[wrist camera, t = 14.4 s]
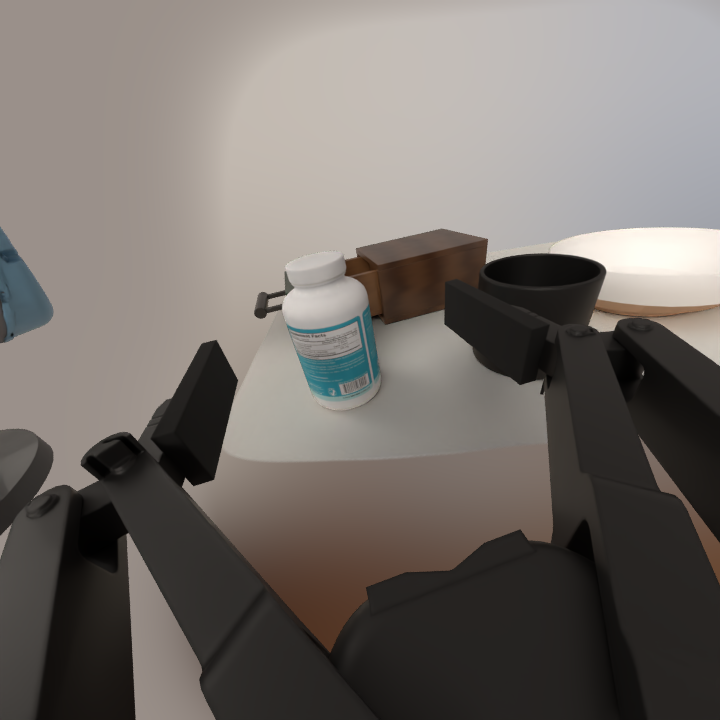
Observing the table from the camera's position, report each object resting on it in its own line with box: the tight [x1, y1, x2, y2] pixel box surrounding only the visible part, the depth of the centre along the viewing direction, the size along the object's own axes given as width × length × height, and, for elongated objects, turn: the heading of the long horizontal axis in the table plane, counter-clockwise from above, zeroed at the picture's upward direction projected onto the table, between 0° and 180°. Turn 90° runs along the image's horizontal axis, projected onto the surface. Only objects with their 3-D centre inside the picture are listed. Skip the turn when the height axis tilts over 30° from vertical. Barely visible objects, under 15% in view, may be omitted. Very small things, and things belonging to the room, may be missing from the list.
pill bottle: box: [282, 251, 381, 410], centre depth 25 cm, size 8×7×14 cm
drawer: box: [254, 256, 383, 319], centre depth 41 cm, size 20×11×7 cm, turn 105°
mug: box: [473, 254, 606, 379], centre depth 27 cm, size 9×12×9 cm
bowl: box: [548, 227, 720, 317], centre depth 33 cm, size 20×20×6 cm
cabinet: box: [356, 229, 488, 324], centre depth 43 cm, size 16×13×9 cm
